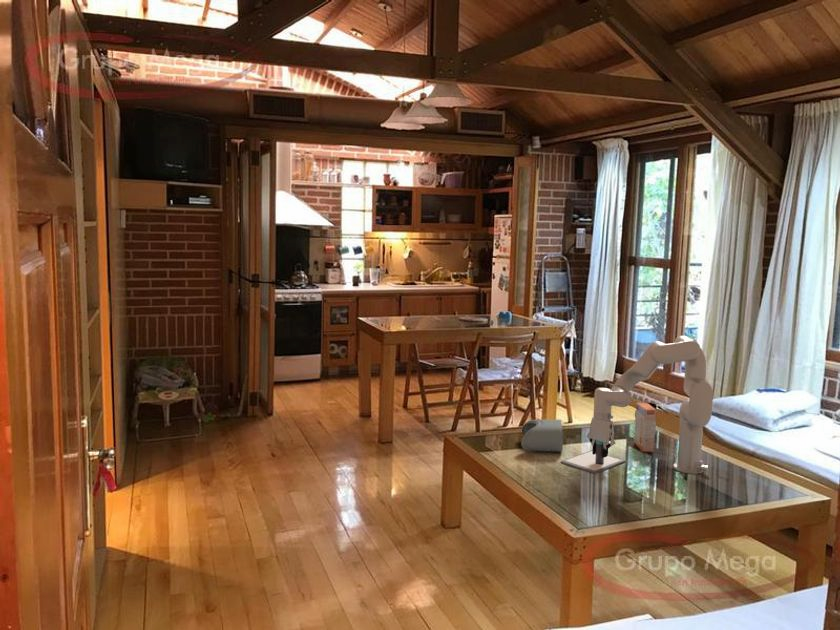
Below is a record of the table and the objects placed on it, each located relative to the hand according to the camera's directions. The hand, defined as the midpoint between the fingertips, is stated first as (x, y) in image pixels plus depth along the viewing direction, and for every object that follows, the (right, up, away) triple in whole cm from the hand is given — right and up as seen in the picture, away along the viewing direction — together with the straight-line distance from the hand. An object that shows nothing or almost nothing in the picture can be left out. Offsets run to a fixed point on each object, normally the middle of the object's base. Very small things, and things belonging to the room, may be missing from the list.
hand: (599, 454), depth 309 cm
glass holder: (+36, +1, +51) cm, 63 cm away
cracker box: (+28, -2, +27) cm, 39 cm away
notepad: (-2, -4, +4) cm, 6 cm away
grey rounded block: (-22, -2, +24) cm, 32 cm away
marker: (0, -4, 0) cm, 4 cm away
